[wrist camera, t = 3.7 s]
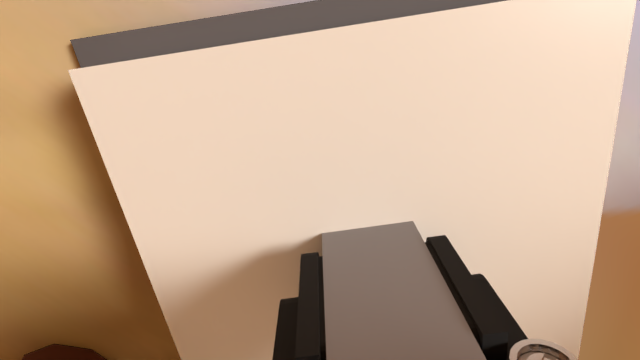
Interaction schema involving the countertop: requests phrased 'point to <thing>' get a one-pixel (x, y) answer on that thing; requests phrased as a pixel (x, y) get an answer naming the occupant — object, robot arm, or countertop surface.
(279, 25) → the mat
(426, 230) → the lid
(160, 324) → the countertop surface
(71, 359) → the ice cream bowl
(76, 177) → the countertop surface
